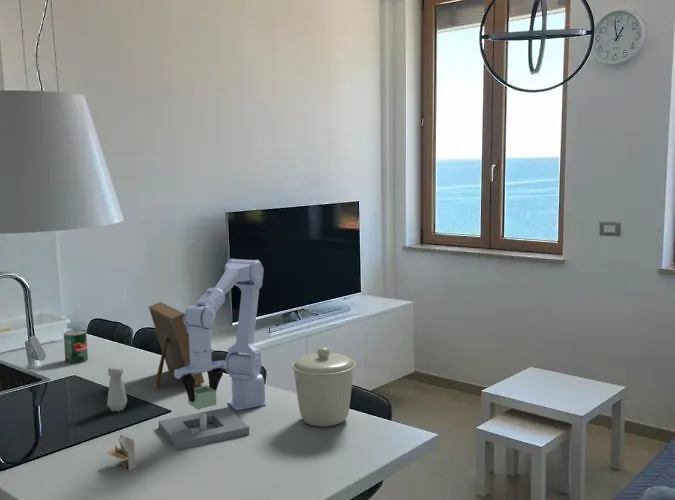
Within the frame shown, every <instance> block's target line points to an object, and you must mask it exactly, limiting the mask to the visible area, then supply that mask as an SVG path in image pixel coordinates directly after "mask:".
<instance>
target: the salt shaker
mask: <svg viewBox="0 0 675 500" xmlns="http://www.w3.org/2000/svg"><path fill="white" fill-rule="evenodd" d="M123 373H124V368H123V366H119V365H113V366H110V367H109V368H108V370H107V375H108V376H109V377H110V378H109V384H108V385H109V386H108V392H107V401H106V404H107V407H108V408H109V409H110V411H111V412H114V411H118V412H121V410H122V411H124V410H125V409H124V408H126V406H127V403H128V397H127V393H126V388H125V384H124V381H123V376H122V375H123Z"/></svg>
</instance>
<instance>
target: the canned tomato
mask: <svg viewBox="0 0 675 500" xmlns="http://www.w3.org/2000/svg"><path fill="white" fill-rule="evenodd" d="M87 337H88V336H87V330H85V329H71V330H67V331H64V332H63V342H64V343H63V344H64V345H63V346H64V359H65V364H67V365H78V364H83V363H86V362H88V360H89V358H88V357H89V356H88V342H87V341H88V339H87Z"/></svg>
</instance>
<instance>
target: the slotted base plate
mask: <svg viewBox="0 0 675 500" xmlns="http://www.w3.org/2000/svg"><path fill="white" fill-rule="evenodd" d="M212 423H214V424H215V425H216V426H217V427H215V428H207V427H208V424H212ZM198 426H199V430H198V431H194V432H192V431H191V430H190V429H189V428H192V427H198ZM158 428H159V430H160V431H161V433H162V434H163V436H164V437H165V438H166V439H167V440H168V442H169V443H170V444H171V445H172V447H173V448H174V450H176V451H179V450H184V449H188V448H193V447H196V446H201V445H206V444H207V445H208V444H211V443H215V442H219V441H223V440H228V439H233V438H238V437H242V436H248V435H250V426H249V425H248V424H246V423H245V422H244V421H243V420H242V419H241V418H240V417H239V416H238V415H236V414H235V412H233V411H232V410H231V409H230V408H229V407H223V408H218V409H211V410H207V411H202V412H198V413H193V414H187V415H181V416H176V417H172V418H165V419H161V420H158ZM183 448H184V449H183ZM178 449H179V450H178Z"/></svg>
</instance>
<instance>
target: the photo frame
mask: <svg viewBox="0 0 675 500" xmlns="http://www.w3.org/2000/svg"><path fill="white" fill-rule="evenodd" d="M148 309H149V312H150V315H151V316H150V317H151V318H152V322H153V325H154V329H155V332H156V334H157V338H158V341H159V344H160V348H161V351H162V352H161V357H160V361H159V365H158V369H157V372H156V373H157V374H156V379H155V388H154V390H156V391H157V390H158V389H159V387H160V386H161V380H162V374H163V368H164V364H166V368H167V371H168V372H169V373H171V374H172V375H174V370H176V369H180V368H183V367H186V366H189V365H190V350H189V333H187V328H186V325H185V324H184V321H183V318H184V314H185V312H182V311H180V310H178V309H176V308H175V307H172V306H170V305H167V304H165V303H163V302H161V301H160V302H157V303H154V304H152V305H149V306H148ZM164 362H165V363H164ZM192 376H193V378H194V379H195V386H194V388H196V387H197V386H199V385H202V384H204V383H205V379H204V376H203V373H198V374H193V375H192ZM178 380H181V379H180V378H178Z"/></svg>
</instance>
